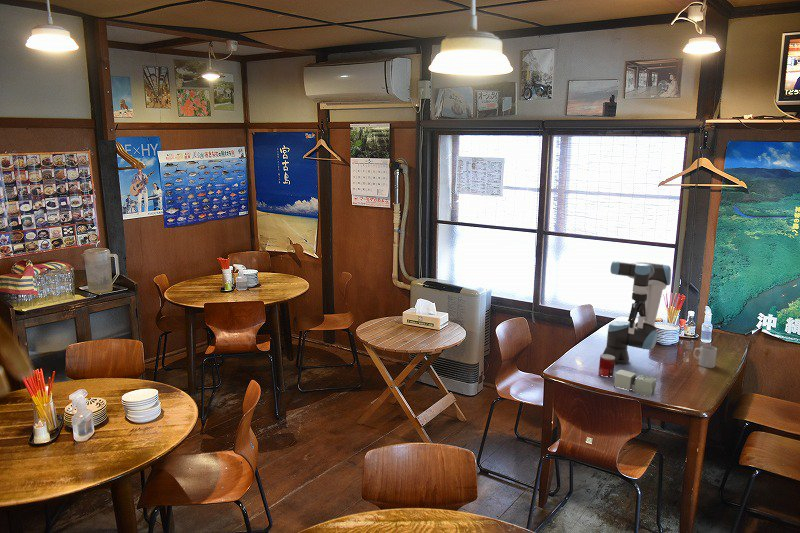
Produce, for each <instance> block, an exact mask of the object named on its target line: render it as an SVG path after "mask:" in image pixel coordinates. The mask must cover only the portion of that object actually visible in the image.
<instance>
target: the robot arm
mask: <svg viewBox="0 0 800 533" xmlns="http://www.w3.org/2000/svg"><path fill="white" fill-rule="evenodd" d="M610 273H611V275H615V276H616V275H617V276H622V277H623V276H624V277H628V278H629V279H633V285H632V295H631V300H633V301H634V302H632V304H631V308H630V313H629V315H628V319H627V321H624V320H618V321H613V322H611V323H609V325H608V328H607V335H606V336H607V337H606V346H605V348H604V350H603V352H602V354H609V355H612V356H614V357H615V365H618V364H623V365H627V364H629V362H630V355H629V351H628V346H629V347H632V348H636V349H642V350H647V351H650V350H653V349H654V347H655V346H656V343H657V341H658V336H659V331H658V330H657V327H656V325H655V324H656V320H657V315H658V311H659V308H660V303H661V298H662V294H663V290H665V289H666V288H667V286H670V285H671V282H672V281H671V280H672V279H671V278H672V269H671V266H670V265H667V264H661V263H660V264H659V263H651V262H642V261H639V262H638V261H636V262H625V261H619V260H613V261H612V262H611V264H610ZM637 315H638V317H637ZM636 318H637V321H636Z"/></svg>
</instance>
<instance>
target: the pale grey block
mask: <svg viewBox="0 0 800 533" xmlns="http://www.w3.org/2000/svg"><path fill="white" fill-rule="evenodd" d="M656 385H657V378H655V377H652V376H647V375H645V374H639V375H637V376H636V378H635V383H631V388H630V389H632V390H634V391H633V393H634V392H635V393H638V394H637V395H639V394H641V395H640V396H642V395H645V396H644V397H646V396H649V397H650V396H651V397H652V395H653V394H652V393H654V394H656ZM635 393H634V394H635ZM651 394H652V395H651ZM649 397H648V398H649ZM651 397H650V398H651Z"/></svg>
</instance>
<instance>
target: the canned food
mask: <svg viewBox="0 0 800 533" xmlns="http://www.w3.org/2000/svg"><path fill="white" fill-rule="evenodd" d="M615 365H616V364H615V357H614V356H612V355H609V354H603V353H602V354H600V356H599V363H598V375H599V374H600V375H603V376H608V377H610V376H614V372H615ZM600 375H599V376H600Z"/></svg>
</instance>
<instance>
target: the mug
mask: <svg viewBox="0 0 800 533" xmlns="http://www.w3.org/2000/svg"><path fill="white" fill-rule="evenodd" d="M697 351H698V352H699V356H697V355H696V352H697ZM717 353H718V348H717V347H715V346H713V345H708V344H704V345H701V346H700V347H695V348H694V350H693V358H694V359H695V360H698V365H699V366H700V367H703V368H706V369H713V368H715V366H716V361H717V360H716V359H717Z"/></svg>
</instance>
